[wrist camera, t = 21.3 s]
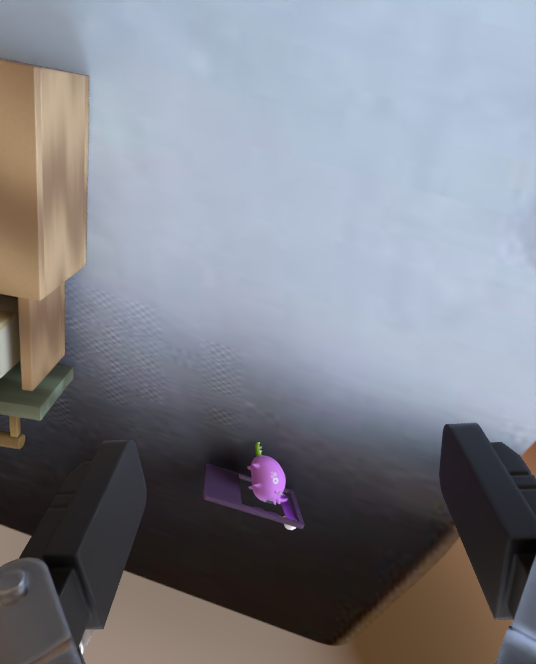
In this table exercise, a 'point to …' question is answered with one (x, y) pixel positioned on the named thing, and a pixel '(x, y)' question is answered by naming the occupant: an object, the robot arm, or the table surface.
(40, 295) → the cabinet
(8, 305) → the cosmetic box
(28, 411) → the drawer
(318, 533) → the table surface
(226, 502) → the purple figurine
